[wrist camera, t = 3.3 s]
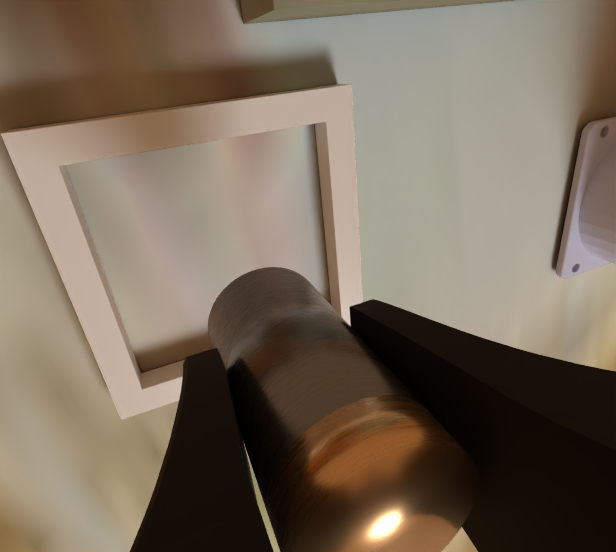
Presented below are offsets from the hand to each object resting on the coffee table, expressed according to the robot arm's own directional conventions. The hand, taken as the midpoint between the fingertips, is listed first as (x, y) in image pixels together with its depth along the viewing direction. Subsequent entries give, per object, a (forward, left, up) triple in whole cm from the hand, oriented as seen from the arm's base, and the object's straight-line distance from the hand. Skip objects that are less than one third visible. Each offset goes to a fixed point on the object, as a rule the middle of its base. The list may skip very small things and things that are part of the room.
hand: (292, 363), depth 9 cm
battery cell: (0, 0, -2) cm, 2 cm away
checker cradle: (0, 0, -7) cm, 7 cm away
